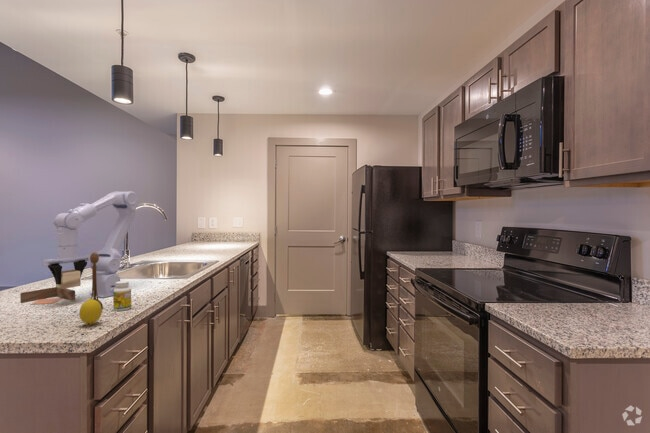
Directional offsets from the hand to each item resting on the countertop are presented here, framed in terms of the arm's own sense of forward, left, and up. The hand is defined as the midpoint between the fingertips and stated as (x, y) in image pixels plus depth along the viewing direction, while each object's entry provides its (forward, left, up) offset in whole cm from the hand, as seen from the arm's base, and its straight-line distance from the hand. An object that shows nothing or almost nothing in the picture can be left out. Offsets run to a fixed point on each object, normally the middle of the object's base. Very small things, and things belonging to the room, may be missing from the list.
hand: (68, 282), depth 123 cm
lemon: (-31, +8, -8) cm, 33 cm away
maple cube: (0, 0, -1) cm, 1 cm away
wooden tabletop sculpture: (-15, -1, -8) cm, 17 cm away
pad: (+10, +3, -8) cm, 13 cm away
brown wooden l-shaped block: (+10, +2, -8) cm, 13 cm away
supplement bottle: (-23, -6, -8) cm, 25 cm away
